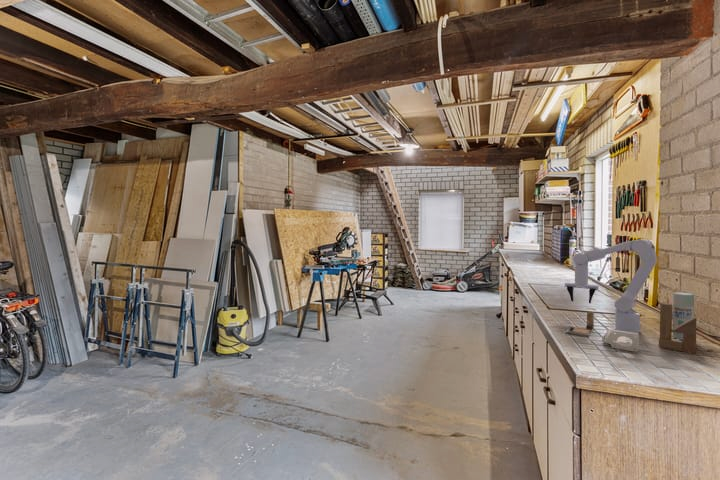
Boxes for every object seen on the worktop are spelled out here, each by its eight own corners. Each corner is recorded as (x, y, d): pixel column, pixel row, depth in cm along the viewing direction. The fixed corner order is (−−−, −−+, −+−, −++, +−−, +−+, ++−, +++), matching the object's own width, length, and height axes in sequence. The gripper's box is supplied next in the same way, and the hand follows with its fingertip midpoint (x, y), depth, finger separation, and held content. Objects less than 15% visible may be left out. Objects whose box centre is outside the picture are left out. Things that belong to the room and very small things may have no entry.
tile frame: (591, 331, 159) (591, 329, 159) (588, 337, 151) (588, 335, 151) (569, 327, 165) (569, 325, 165) (565, 333, 156) (565, 331, 156)
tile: (589, 333, 158) (589, 330, 157) (588, 336, 153) (588, 333, 153) (574, 331, 161) (574, 327, 161) (572, 334, 157) (572, 330, 157)
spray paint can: (692, 338, 148) (693, 293, 147) (693, 342, 143) (694, 295, 142) (672, 335, 152) (673, 291, 151) (672, 339, 147) (673, 293, 147)
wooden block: (695, 353, 131) (697, 307, 130) (658, 347, 138) (659, 303, 137) (695, 351, 133) (696, 306, 133) (658, 344, 141) (660, 302, 140)
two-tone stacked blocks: (593, 327, 166) (594, 311, 166) (592, 330, 160) (592, 314, 160) (587, 326, 167) (588, 310, 167) (586, 329, 162) (586, 313, 162)
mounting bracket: (601, 349, 141) (601, 329, 137) (602, 339, 146) (601, 319, 142) (638, 356, 134) (639, 334, 130) (637, 345, 138) (638, 324, 134)
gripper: (563, 275, 175) (563, 301, 176) (597, 278, 166) (597, 305, 167) (566, 274, 181) (565, 299, 181) (599, 276, 172) (598, 302, 172)
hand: (580, 302), depth 174 cm, fingers open, 7 cm apart
